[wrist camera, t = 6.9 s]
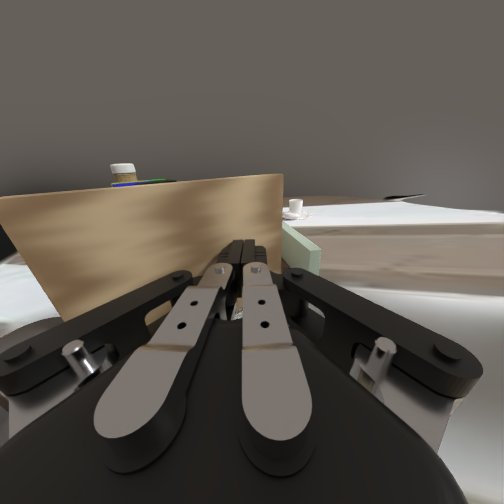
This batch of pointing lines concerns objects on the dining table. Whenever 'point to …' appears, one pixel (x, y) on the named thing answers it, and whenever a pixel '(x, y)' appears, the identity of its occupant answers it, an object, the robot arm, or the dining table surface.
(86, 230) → the tan wooden flat panel
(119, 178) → the sprinkles bottle
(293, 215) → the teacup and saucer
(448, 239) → the dining table surface
